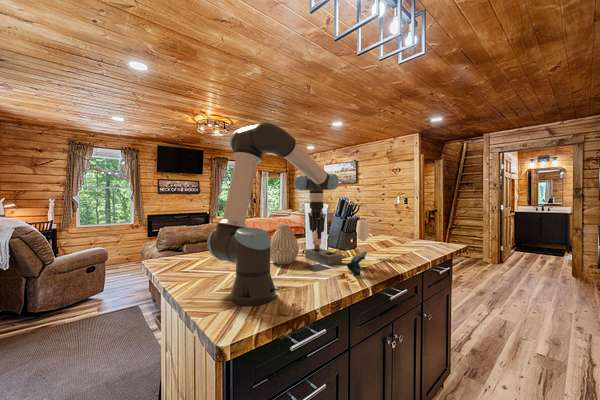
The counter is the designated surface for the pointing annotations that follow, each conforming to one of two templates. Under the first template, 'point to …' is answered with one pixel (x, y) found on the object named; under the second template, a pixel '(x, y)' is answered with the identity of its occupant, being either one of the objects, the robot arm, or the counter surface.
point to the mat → (316, 267)
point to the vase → (283, 246)
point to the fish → (356, 263)
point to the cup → (363, 229)
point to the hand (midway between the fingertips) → (316, 244)
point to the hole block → (323, 256)
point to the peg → (315, 241)
